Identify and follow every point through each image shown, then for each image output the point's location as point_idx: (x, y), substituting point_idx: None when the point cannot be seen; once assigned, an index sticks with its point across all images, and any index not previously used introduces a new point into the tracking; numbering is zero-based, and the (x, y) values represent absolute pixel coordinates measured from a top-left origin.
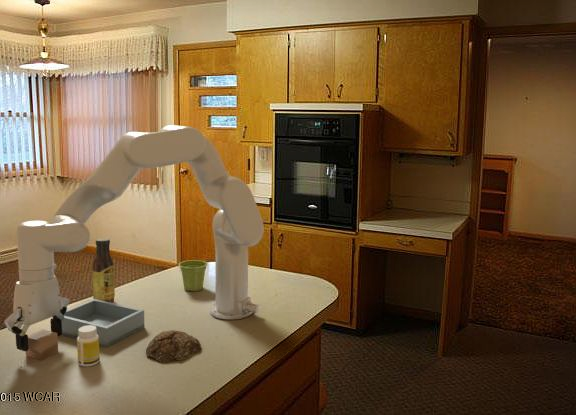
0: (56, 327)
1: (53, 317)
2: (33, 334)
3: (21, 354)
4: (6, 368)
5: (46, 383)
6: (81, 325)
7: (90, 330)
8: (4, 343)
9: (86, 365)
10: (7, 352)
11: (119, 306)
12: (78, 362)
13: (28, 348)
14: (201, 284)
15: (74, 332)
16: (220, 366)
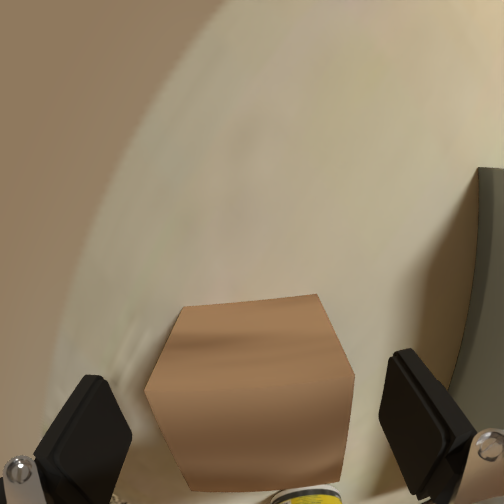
0: (402, 443)
1: (449, 479)
2: (222, 411)
3: (175, 266)
4: (64, 339)
5: (140, 491)
6: (496, 410)
7: None
8: (210, 21)
9: None
10: (138, 163)
11: None
12: (273, 501)
13: (130, 443)
14: None
15: (485, 335)
16: None
